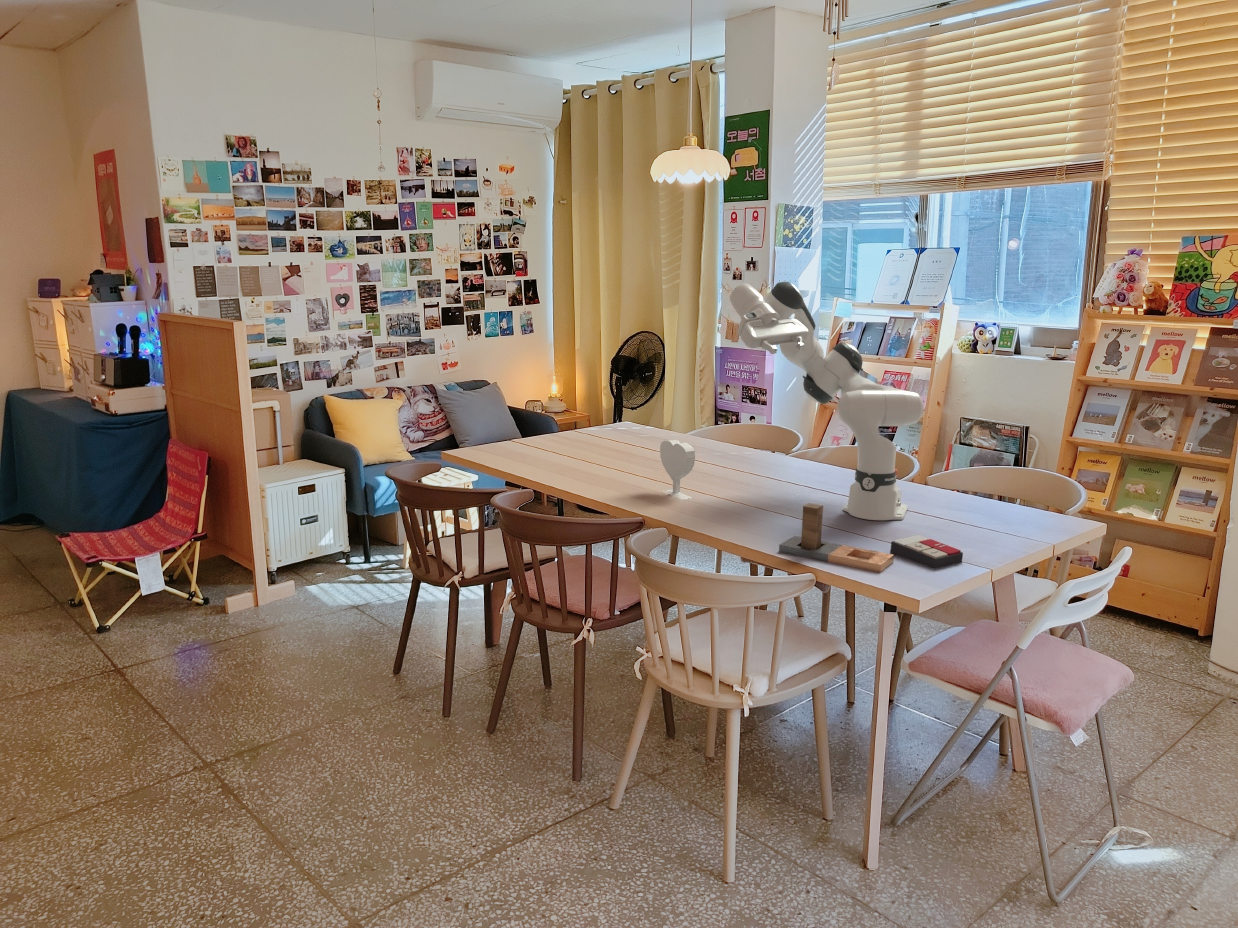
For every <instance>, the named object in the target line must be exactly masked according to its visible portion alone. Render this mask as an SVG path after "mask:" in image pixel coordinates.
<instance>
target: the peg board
mask: <svg viewBox="0 0 1238 928" xmlns="http://www.w3.org/2000/svg"><path fill="white" fill-rule="evenodd" d="M801 537H802V536H798V535H794V536H792V537H790V538H789V539H787V540H784V541H783V542H782V543H780V544H778V546H779V547H778V552H779V553H783V554H788V555H792V556H797V557H801V558H807V559H812V560H818V561H823V562H825V563H826V562H827V563H831V564H837V565H842V566H848V567H850V568H851V567H852V568H857V569H862V570H868V571H871V572H876V573H881V572H883V571H884V570H885V569H887V568H888V567H890V566H891V565H893V563H894V559H895V558H894V557H895V555H893V554H891V553H888V552H882V551H876V550H872V549H866V548H860V547H855V546H851V545H844V544H839V543H835V542H834V543H833V542H829V541H823V540H821V548H819V549H817V550H816V549H811V548H805V547H801Z"/></svg>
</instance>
